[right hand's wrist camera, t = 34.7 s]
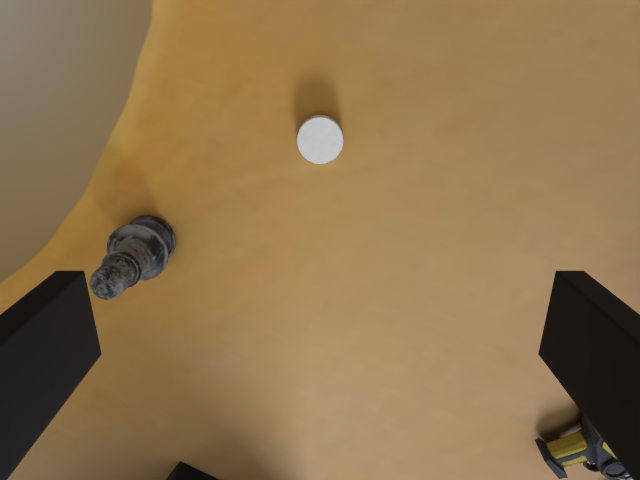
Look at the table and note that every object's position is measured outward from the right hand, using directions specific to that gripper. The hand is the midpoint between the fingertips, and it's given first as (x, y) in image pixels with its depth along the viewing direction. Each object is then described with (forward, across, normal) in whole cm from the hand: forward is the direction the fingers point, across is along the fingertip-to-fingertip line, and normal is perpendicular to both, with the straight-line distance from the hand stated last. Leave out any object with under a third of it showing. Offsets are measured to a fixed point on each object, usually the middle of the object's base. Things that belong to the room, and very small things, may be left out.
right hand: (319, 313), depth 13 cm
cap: (+31, 0, 0) cm, 31 cm away
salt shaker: (+33, +18, +10) cm, 39 cm away
